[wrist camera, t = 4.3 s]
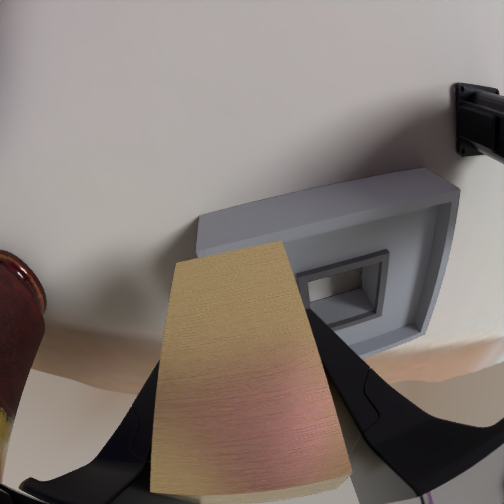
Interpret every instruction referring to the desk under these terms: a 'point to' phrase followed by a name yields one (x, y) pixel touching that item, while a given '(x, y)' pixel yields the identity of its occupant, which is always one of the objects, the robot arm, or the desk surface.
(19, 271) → the vase
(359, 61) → the desk surface
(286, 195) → the grey socket tray
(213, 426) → the connector plug
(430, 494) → the robot arm
